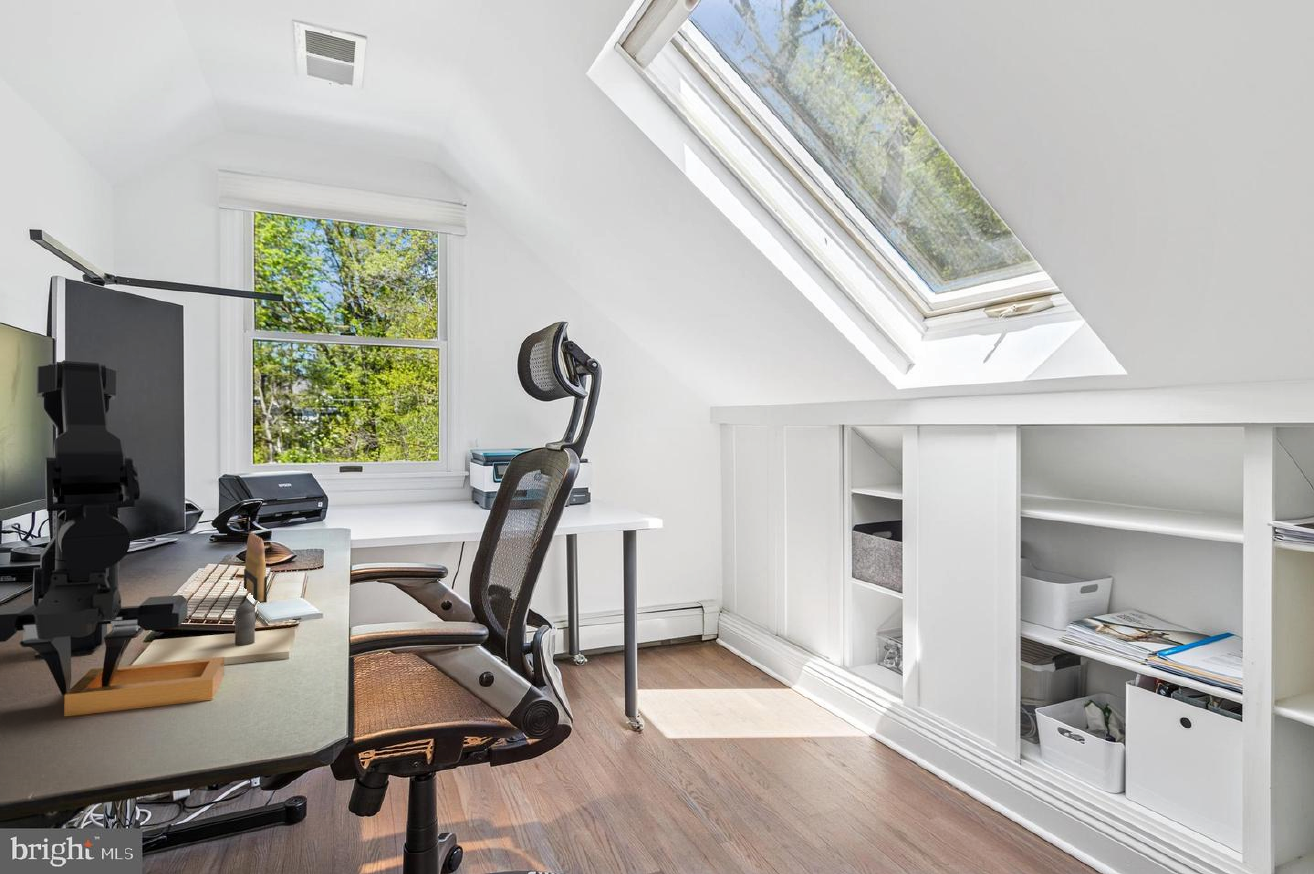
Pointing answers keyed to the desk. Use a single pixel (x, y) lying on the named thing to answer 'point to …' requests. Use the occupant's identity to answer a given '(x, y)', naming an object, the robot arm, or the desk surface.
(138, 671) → the shallow wooden tray
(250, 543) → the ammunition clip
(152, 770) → the desk surface
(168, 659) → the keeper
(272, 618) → the hard drive
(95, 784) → the desk surface
